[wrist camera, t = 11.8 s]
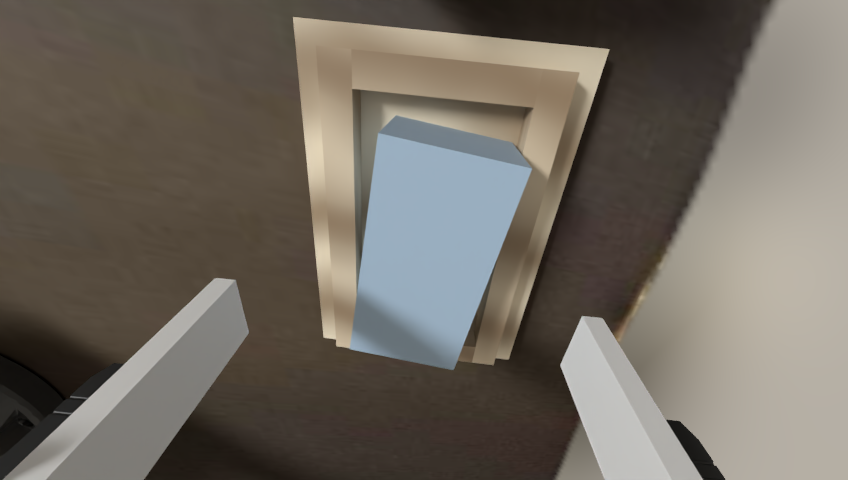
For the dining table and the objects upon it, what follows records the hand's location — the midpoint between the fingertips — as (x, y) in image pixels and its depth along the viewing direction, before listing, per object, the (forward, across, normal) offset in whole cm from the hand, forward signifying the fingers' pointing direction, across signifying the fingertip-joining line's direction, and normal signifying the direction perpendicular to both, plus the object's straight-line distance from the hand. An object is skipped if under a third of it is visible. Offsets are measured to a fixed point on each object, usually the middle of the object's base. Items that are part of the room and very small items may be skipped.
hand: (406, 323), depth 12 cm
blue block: (+8, -1, 0) cm, 8 cm away
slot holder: (+9, -1, 0) cm, 9 cm away
